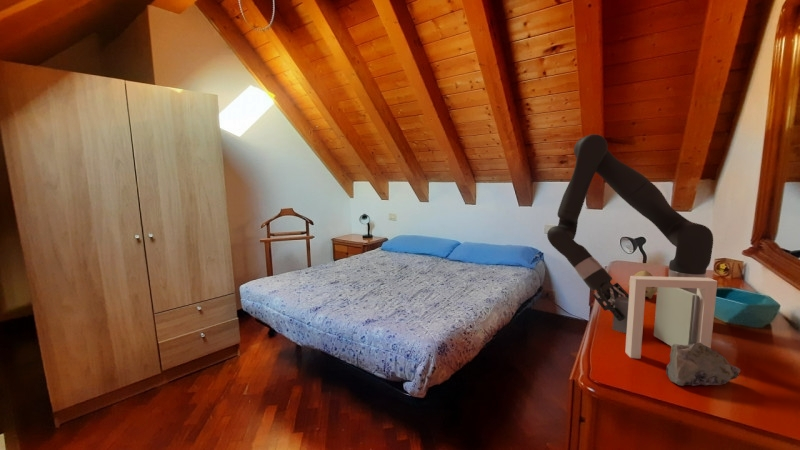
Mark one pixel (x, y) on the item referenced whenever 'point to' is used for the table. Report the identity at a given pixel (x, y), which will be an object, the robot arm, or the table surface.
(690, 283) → the door frame
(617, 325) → the block
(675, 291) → the door
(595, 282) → the robot arm
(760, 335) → the table surface
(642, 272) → the toy pig
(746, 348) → the table surface
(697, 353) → the mineral rock
